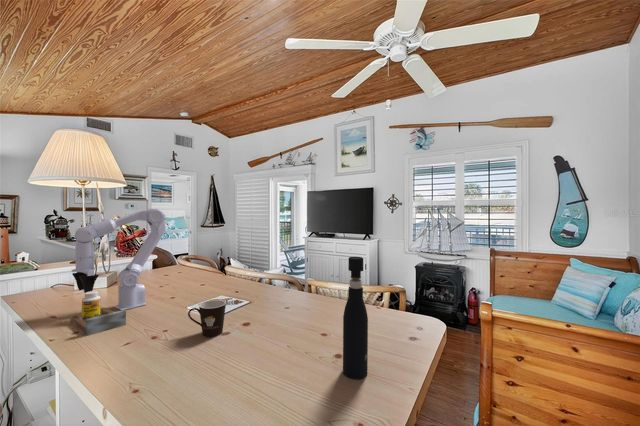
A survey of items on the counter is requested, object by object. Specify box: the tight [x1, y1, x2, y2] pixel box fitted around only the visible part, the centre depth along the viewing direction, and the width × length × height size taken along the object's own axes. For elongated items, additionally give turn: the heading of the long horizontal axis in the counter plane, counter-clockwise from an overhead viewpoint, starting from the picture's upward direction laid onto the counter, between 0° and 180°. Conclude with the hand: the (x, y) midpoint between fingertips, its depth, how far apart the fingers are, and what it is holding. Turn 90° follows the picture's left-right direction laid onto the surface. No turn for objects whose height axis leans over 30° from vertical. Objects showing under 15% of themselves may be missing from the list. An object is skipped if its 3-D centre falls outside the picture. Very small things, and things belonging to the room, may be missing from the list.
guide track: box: [70, 308, 127, 336], centre depth 104 cm, size 11×19×5 cm, turn 54°
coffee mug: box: [187, 299, 227, 338], centre depth 97 cm, size 12×9×10 cm
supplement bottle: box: [81, 290, 101, 322], centre depth 109 cm, size 6×6×10 cm
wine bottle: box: [342, 256, 369, 380], centre depth 74 cm, size 6×6×30 cm
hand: (85, 291), depth 112 cm, fingers open, 7 cm apart
